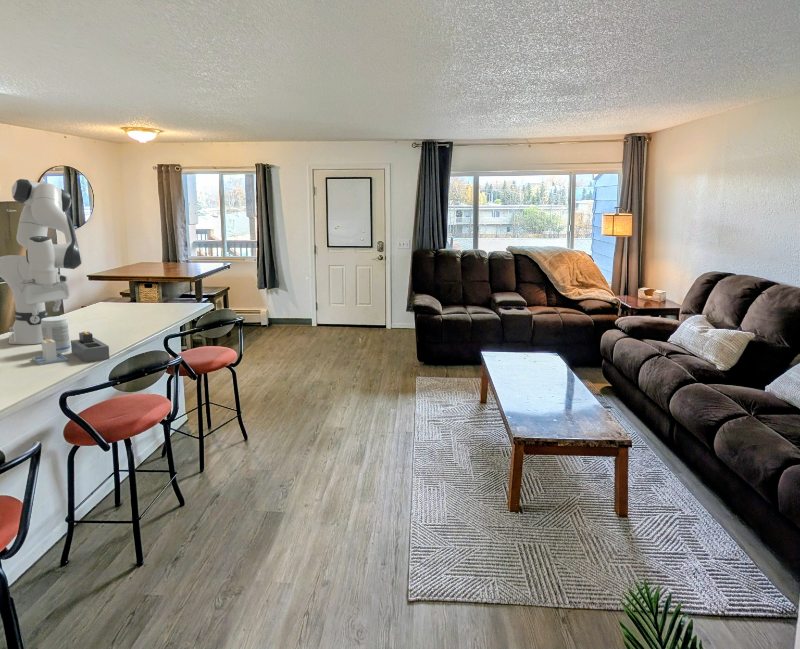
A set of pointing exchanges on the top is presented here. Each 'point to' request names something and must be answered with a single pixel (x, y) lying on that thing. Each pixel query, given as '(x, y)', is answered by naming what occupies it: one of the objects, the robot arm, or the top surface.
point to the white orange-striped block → (49, 350)
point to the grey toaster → (89, 348)
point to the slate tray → (40, 361)
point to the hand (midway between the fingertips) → (46, 313)
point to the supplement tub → (56, 332)
